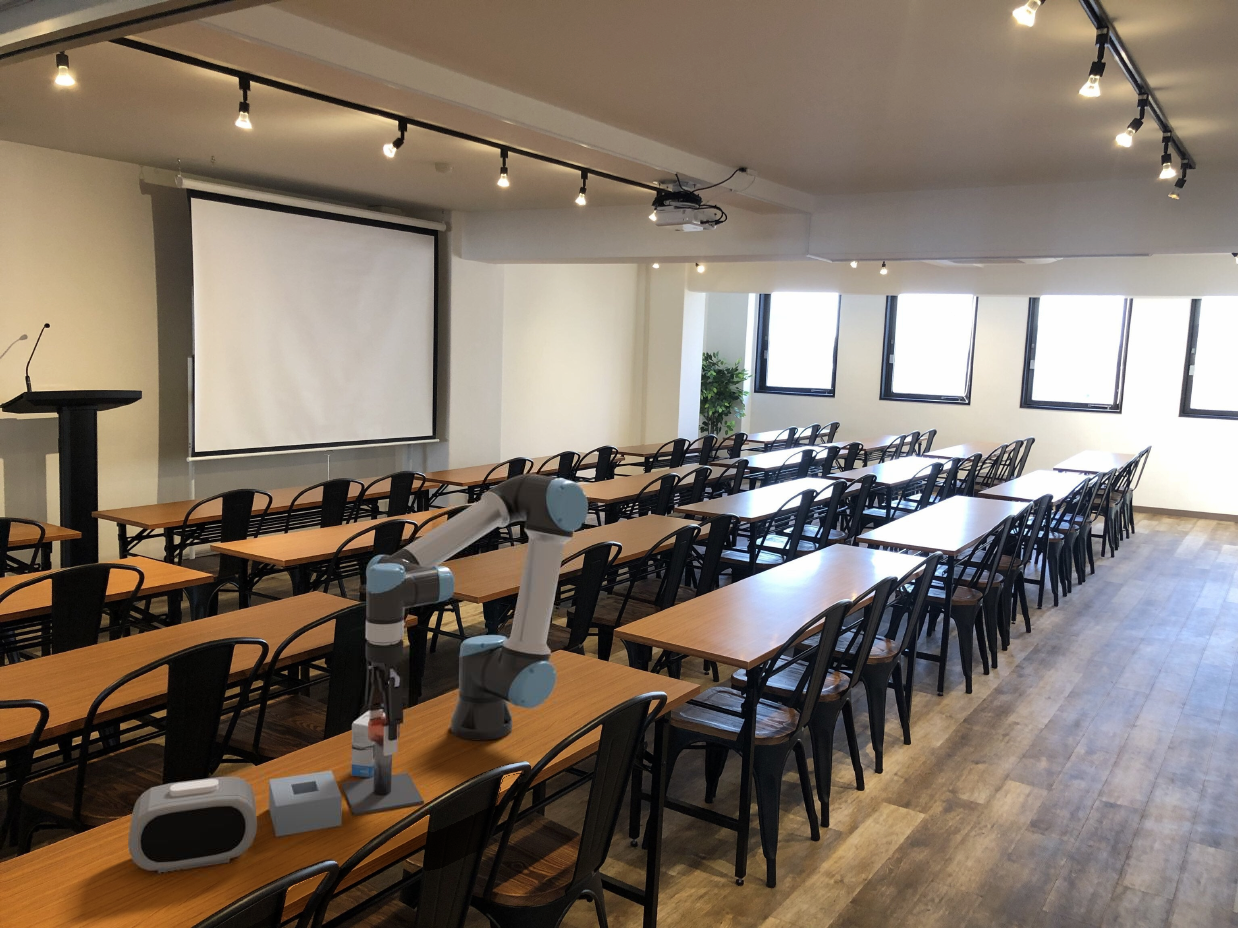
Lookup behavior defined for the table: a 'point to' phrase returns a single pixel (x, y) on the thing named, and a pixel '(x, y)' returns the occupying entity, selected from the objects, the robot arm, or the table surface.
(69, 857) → the table surface
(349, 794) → the mat
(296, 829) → the eye block
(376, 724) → the red-capped vial
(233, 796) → the alarm clock
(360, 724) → the ink box
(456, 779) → the table surface
